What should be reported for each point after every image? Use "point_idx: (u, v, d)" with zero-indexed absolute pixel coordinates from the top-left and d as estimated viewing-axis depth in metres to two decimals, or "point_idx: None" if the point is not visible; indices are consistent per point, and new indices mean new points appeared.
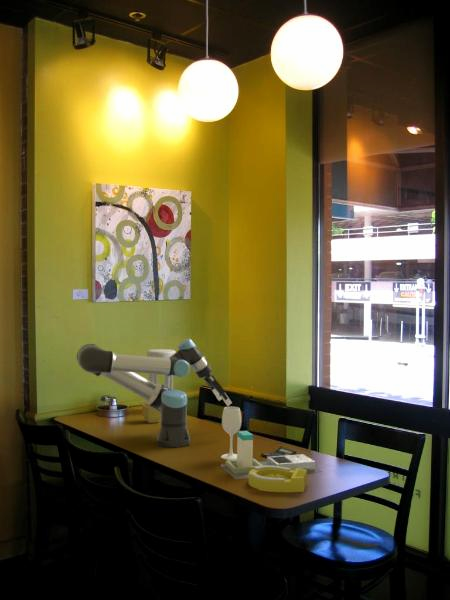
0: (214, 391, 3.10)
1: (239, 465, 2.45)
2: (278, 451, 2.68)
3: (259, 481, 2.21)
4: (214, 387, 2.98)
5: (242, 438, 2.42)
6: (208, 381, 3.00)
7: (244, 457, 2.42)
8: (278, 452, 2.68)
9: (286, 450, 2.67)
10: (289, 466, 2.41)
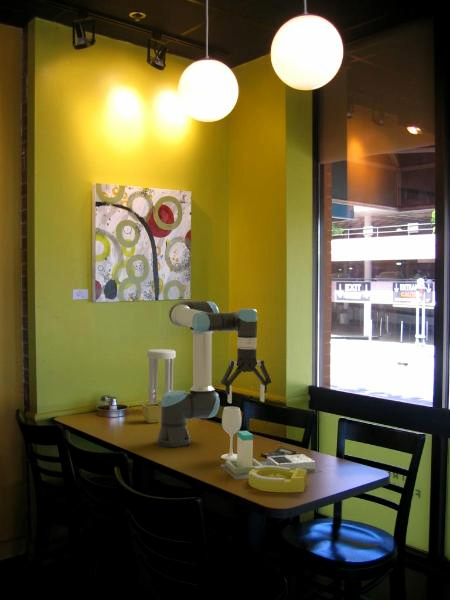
0: (260, 387, 2.48)
1: (239, 465, 2.45)
2: (278, 451, 2.68)
3: (259, 481, 2.21)
4: (232, 374, 2.44)
5: (242, 438, 2.42)
6: None
7: (244, 457, 2.42)
8: (278, 452, 2.68)
9: (286, 450, 2.67)
10: (289, 466, 2.41)
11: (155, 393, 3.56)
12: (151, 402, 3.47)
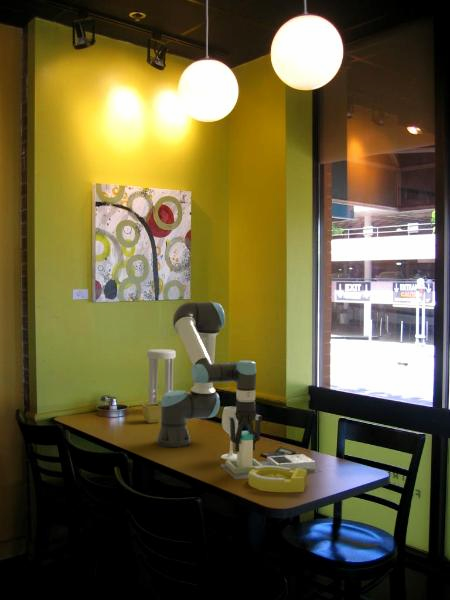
0: None
1: (239, 465, 2.45)
2: (278, 451, 2.68)
3: (259, 481, 2.21)
4: (237, 429, 2.46)
5: (242, 438, 2.42)
6: None
7: (244, 457, 2.42)
8: (278, 452, 2.68)
9: (286, 450, 2.67)
10: (289, 466, 2.41)
11: (155, 393, 3.56)
12: (151, 402, 3.47)
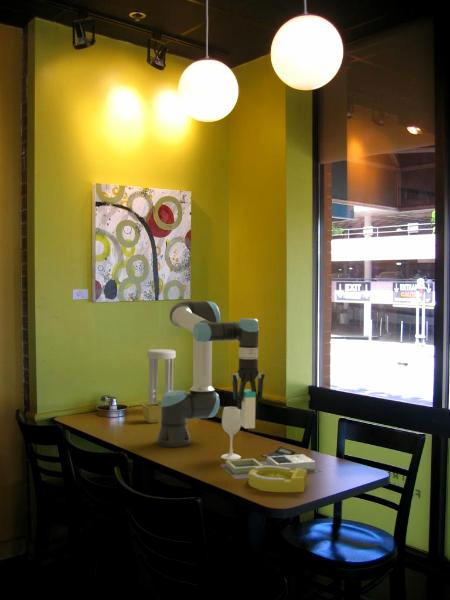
0: None
1: (242, 423, 2.45)
2: (278, 451, 2.68)
3: (259, 481, 2.21)
4: None
5: (245, 395, 2.42)
6: None
7: (247, 414, 2.41)
8: (278, 452, 2.68)
9: (285, 450, 2.67)
10: (289, 466, 2.41)
11: (155, 393, 3.56)
12: (151, 402, 3.47)
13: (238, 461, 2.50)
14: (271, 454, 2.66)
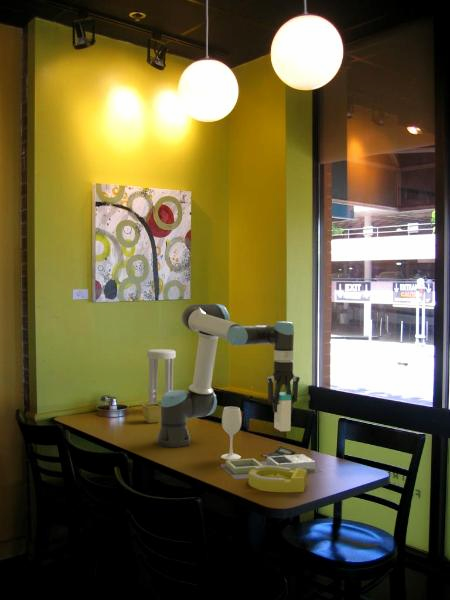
0: None
1: (277, 426, 2.45)
2: (278, 451, 2.68)
3: (259, 481, 2.21)
4: None
5: (280, 398, 2.42)
6: None
7: (283, 417, 2.42)
8: (278, 452, 2.68)
9: (285, 450, 2.67)
10: (289, 466, 2.41)
11: (155, 393, 3.56)
12: (151, 402, 3.47)
13: (238, 461, 2.50)
14: (271, 454, 2.66)
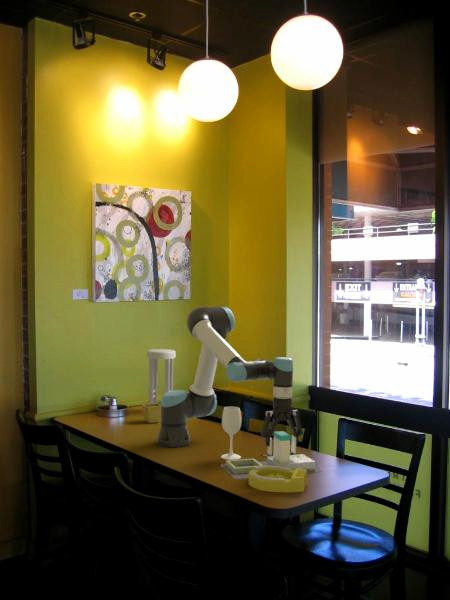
0: (292, 438, 2.48)
1: None
2: None
3: (259, 481, 2.21)
4: None
5: (279, 438, 2.43)
6: None
7: (282, 457, 2.42)
8: None
9: None
10: (289, 466, 2.41)
11: (155, 393, 3.56)
12: (151, 402, 3.47)
13: (238, 461, 2.50)
14: None
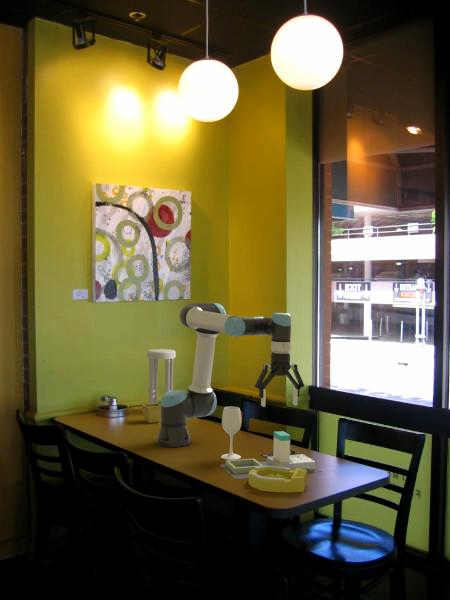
0: (293, 390, 2.50)
1: None
2: None
3: (259, 481, 2.21)
4: None
5: (279, 438, 2.43)
6: None
7: (282, 457, 2.42)
8: None
9: None
10: (289, 466, 2.41)
11: (155, 393, 3.56)
12: (151, 402, 3.47)
13: (238, 461, 2.50)
14: (271, 454, 2.66)
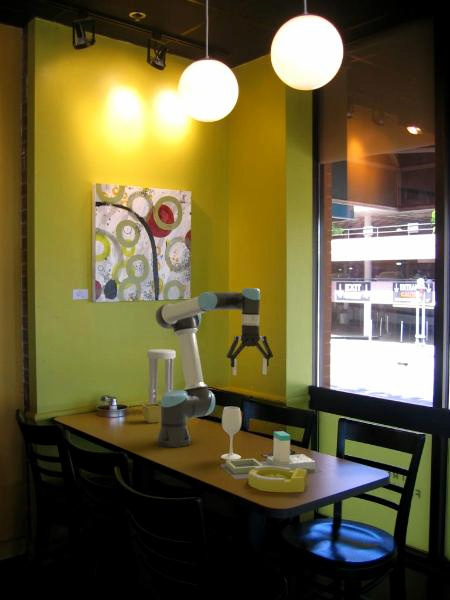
0: (263, 361, 2.67)
1: None
2: None
3: (259, 481, 2.21)
4: (237, 348, 2.64)
5: (279, 438, 2.43)
6: None
7: (282, 457, 2.42)
8: None
9: None
10: (289, 466, 2.41)
11: (155, 393, 3.56)
12: (151, 402, 3.47)
13: (238, 461, 2.50)
14: (271, 454, 2.66)
